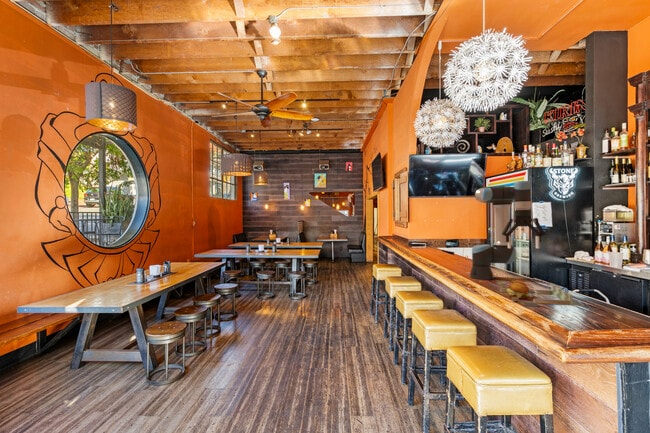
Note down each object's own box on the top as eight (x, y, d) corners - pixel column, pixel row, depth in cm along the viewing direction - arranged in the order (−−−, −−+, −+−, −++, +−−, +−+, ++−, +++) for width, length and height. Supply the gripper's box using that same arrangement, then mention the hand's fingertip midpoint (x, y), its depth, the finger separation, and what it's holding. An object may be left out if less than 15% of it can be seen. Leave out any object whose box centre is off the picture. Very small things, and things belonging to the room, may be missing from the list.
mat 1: (518, 289, 181) (518, 289, 181) (531, 290, 179) (531, 290, 179) (521, 292, 175) (521, 292, 175) (535, 292, 173) (535, 292, 173)
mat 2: (519, 302, 156) (519, 302, 156) (534, 303, 154) (534, 302, 154) (523, 305, 150) (523, 305, 150) (539, 306, 148) (539, 306, 148)
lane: (500, 291, 177) (500, 283, 177) (553, 293, 170) (553, 285, 170) (512, 301, 157) (512, 292, 157) (572, 304, 150) (572, 294, 150)
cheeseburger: (521, 293, 171) (524, 277, 169) (532, 303, 161) (535, 286, 159) (503, 293, 172) (505, 277, 170) (512, 303, 162) (514, 286, 160)
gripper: (499, 210, 165) (500, 248, 165) (552, 208, 158) (553, 249, 159) (495, 210, 172) (496, 247, 172) (545, 209, 166) (546, 247, 166)
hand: (523, 248), depth 165 cm, fingers open, 13 cm apart
